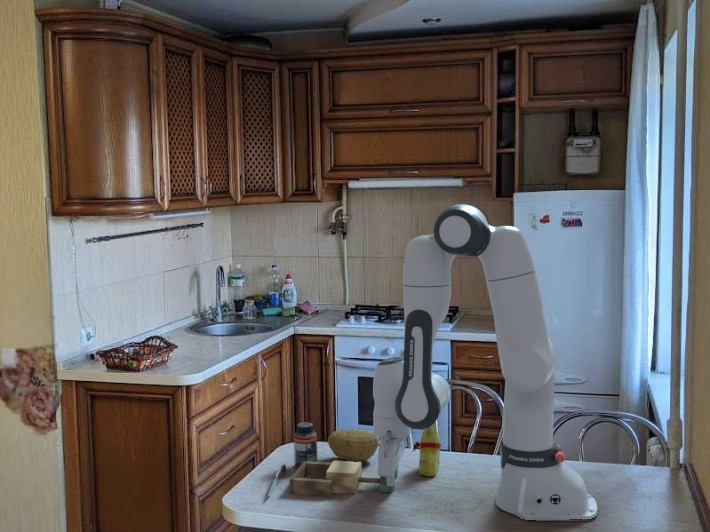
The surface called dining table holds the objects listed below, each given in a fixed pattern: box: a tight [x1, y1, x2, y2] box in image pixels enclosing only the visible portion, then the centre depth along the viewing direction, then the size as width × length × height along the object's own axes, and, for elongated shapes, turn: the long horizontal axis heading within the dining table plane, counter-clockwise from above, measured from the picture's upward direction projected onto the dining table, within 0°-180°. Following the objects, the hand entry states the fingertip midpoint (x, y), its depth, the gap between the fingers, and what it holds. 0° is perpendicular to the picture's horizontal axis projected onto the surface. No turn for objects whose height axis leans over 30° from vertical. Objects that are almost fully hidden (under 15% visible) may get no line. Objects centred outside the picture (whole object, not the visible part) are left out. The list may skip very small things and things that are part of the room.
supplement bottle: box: [293, 421, 318, 469], centre depth 212 cm, size 6×6×11 cm
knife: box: [268, 464, 287, 497], centre depth 200 cm, size 20×1×3 cm, turn 174°
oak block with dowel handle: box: [325, 460, 396, 495], centre depth 197 cm, size 16×8×5 cm, turn 79°
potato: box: [327, 429, 380, 462], centre depth 217 cm, size 10×14×8 cm
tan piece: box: [289, 461, 333, 498], centre depth 199 cm, size 10×13×4 cm
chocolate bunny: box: [412, 422, 442, 477], centre depth 208 cm, size 7×11×15 cm, turn 167°
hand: (392, 481), depth 196 cm, fingers closed on oak block with dowel handle, 3 cm apart
